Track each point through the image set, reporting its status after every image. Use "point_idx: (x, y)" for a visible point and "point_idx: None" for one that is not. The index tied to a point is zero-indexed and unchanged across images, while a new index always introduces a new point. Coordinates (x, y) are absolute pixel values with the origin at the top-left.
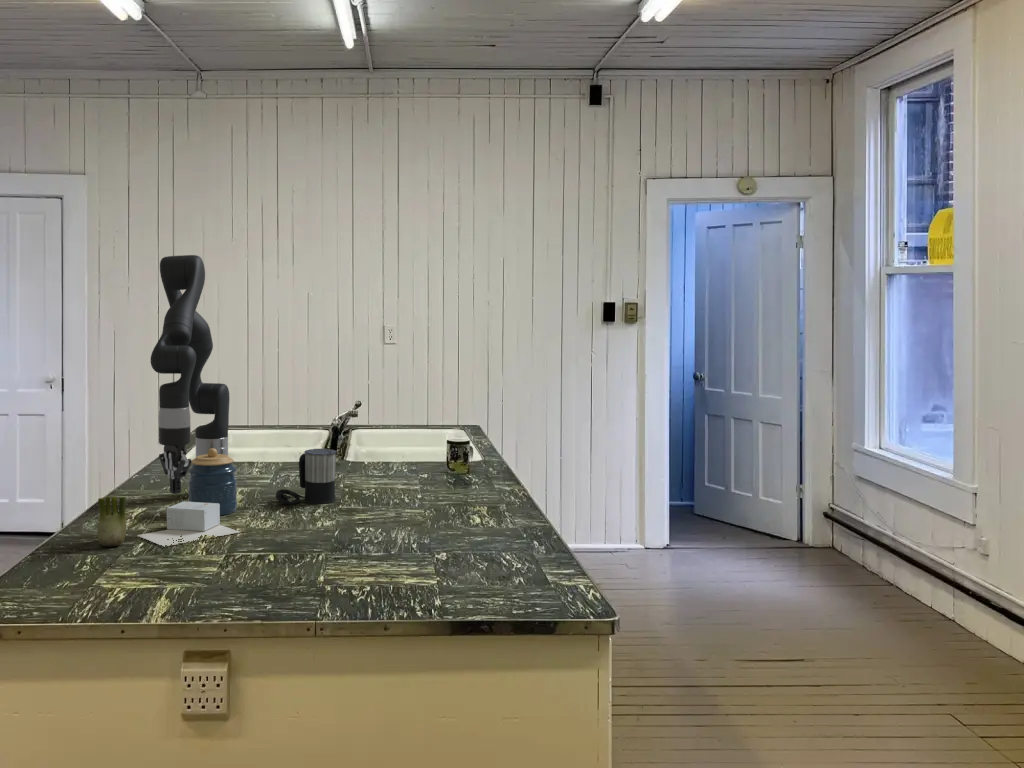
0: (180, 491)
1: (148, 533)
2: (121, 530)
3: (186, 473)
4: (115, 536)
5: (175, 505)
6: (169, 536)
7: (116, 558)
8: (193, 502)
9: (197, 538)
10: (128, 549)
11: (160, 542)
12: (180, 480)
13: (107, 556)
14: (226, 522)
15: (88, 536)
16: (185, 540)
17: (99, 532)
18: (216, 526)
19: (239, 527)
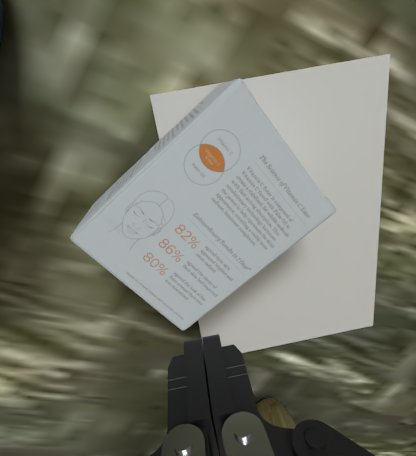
0: (218, 337)
1: (204, 333)
2: None
3: (362, 449)
4: None
5: (155, 292)
6: (279, 292)
7: (370, 413)
8: (128, 201)
9: (359, 228)
10: (317, 387)
11: (327, 325)
12: (255, 406)
13: (342, 424)
14: (164, 22)
15: (131, 442)
16: (356, 265)
17: None
18: None
19: (290, 7)
